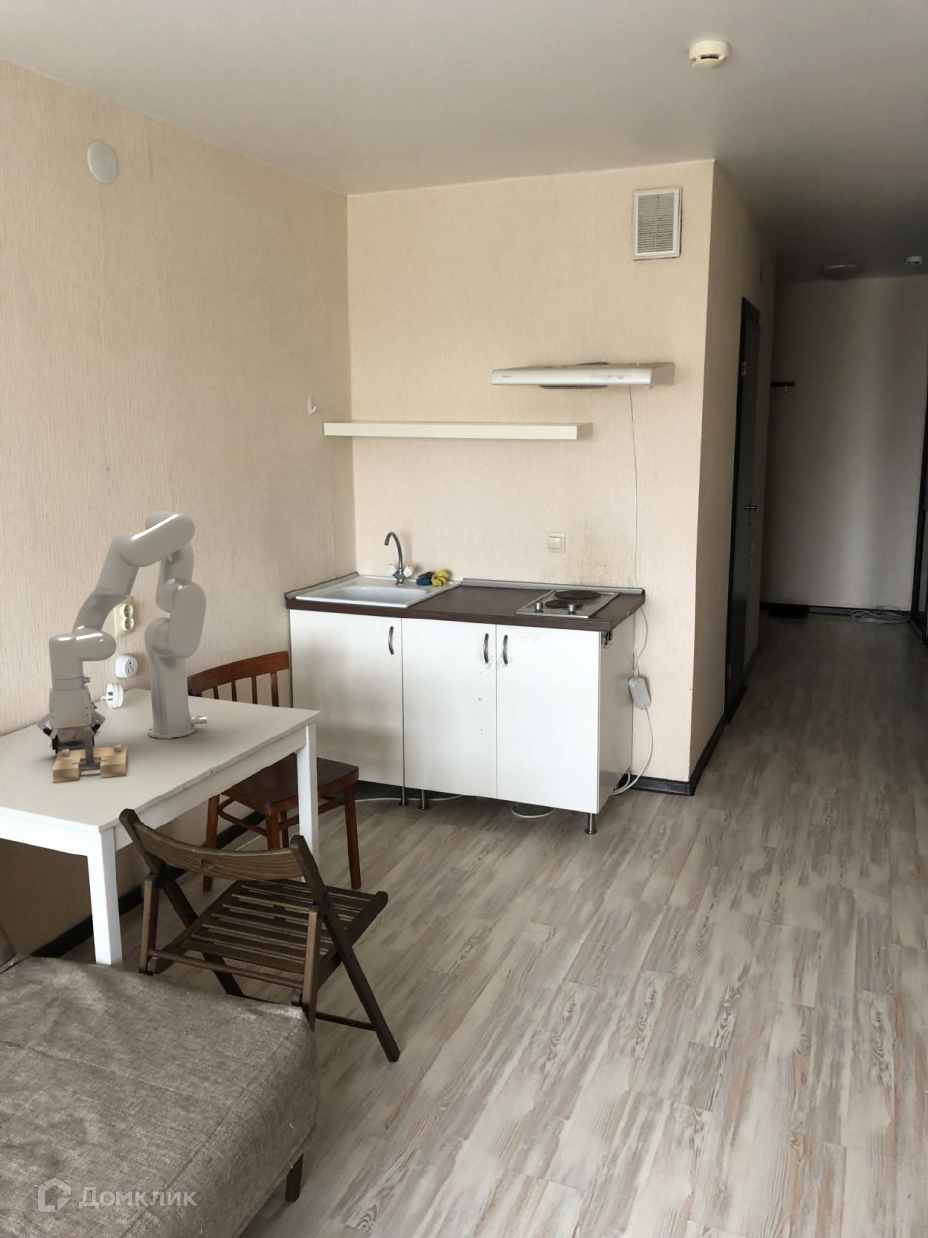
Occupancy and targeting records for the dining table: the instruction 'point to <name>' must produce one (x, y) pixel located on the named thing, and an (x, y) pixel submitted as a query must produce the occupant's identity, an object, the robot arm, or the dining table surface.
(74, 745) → the faceted grey ring
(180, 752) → the dining table surface
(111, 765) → the toggle switch panel
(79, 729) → the food item
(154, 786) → the dining table surface
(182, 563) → the robot arm
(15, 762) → the dining table surface
